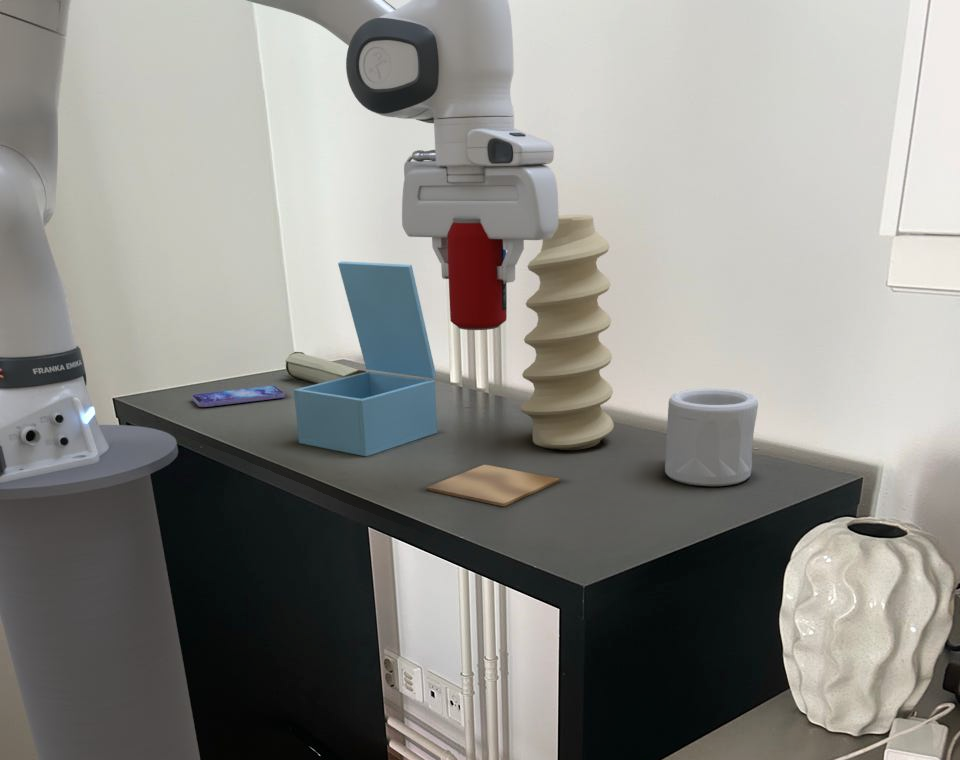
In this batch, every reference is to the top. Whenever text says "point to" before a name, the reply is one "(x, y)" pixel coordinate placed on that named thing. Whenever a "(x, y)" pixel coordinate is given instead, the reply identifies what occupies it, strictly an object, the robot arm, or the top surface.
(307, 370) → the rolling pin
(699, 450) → the mug
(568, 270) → the decorative object
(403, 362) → the lid
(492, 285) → the beverage can
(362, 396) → the box
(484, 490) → the cork mat
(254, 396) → the smartphone
